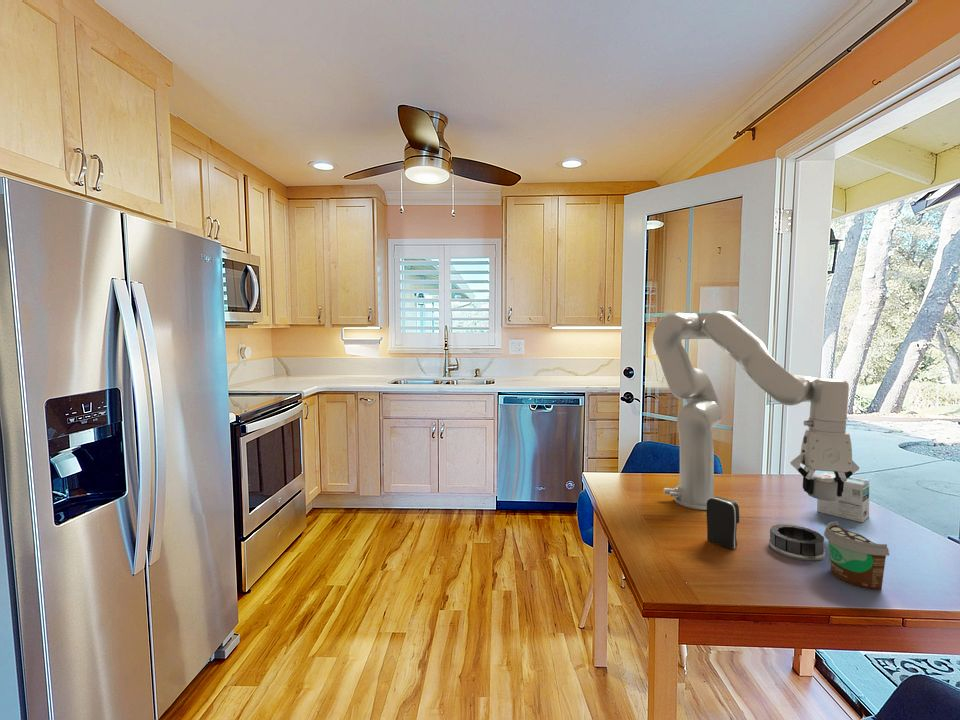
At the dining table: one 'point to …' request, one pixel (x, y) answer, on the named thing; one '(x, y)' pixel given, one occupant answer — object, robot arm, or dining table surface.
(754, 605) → the dining table surface
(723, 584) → the dining table surface
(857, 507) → the light bulb box
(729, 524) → the battery charger
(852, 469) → the robot arm
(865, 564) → the food container
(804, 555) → the faceted grey bowl
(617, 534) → the dining table surface
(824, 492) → the cap
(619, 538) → the dining table surface
